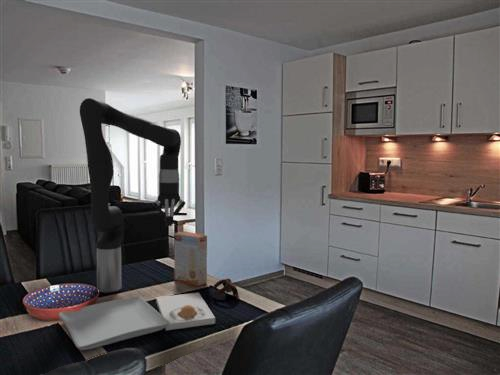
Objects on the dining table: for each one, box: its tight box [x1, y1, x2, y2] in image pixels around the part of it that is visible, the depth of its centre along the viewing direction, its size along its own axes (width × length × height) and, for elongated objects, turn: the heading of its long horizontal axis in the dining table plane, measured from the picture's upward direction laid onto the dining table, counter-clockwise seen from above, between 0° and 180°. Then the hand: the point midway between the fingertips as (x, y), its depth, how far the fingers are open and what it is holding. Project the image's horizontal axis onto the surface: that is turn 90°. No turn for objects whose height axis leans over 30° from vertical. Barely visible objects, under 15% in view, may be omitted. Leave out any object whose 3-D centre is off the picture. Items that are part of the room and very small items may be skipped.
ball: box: [180, 305, 195, 318], centre depth 133 cm, size 5×5×5 cm
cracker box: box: [173, 231, 208, 287], centre depth 170 cm, size 14×6×21 cm, turn 54°
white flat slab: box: [155, 292, 216, 331], centre depth 139 cm, size 16×24×2 cm, turn 20°
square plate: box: [58, 295, 170, 351], centre depth 127 cm, size 27×27×4 cm
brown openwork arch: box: [211, 278, 240, 301], centre depth 154 cm, size 12×10×8 cm
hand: (169, 225), depth 155 cm, fingers closed
